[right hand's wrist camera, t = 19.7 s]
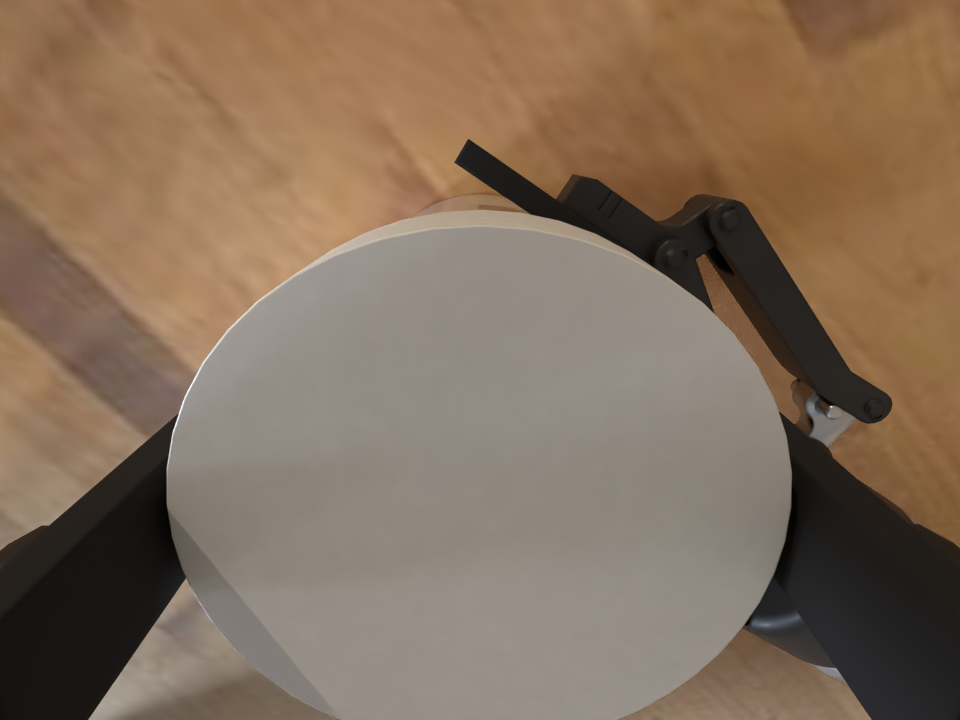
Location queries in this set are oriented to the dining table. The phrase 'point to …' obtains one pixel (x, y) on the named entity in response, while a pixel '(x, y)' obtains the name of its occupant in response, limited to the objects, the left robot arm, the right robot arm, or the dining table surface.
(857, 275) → the dining table surface
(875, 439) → the dining table surface
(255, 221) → the dining table surface
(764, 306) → the left robot arm
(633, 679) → the lid
